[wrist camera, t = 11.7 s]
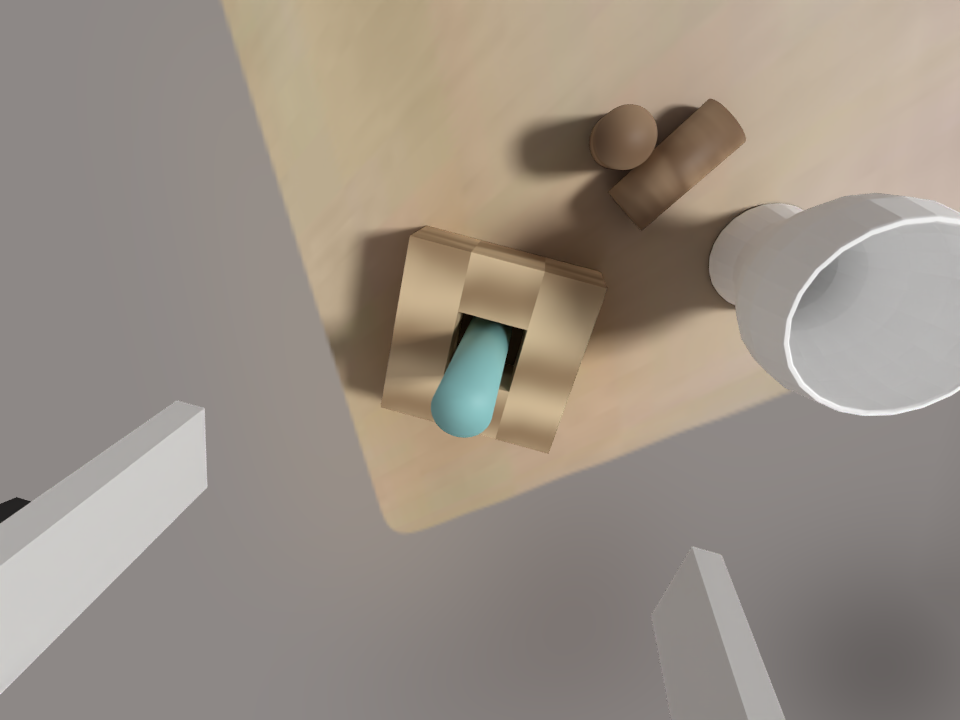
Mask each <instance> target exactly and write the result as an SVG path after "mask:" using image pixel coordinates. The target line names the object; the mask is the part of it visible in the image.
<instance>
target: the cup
mask: <svg viewBox="0 0 960 720" xmlns="http://www.w3.org/2000/svg"><path fill="white" fill-rule="evenodd" d="M709 273H710V277H711V281H712V284H713V286H714V287H715V289H716V291H717V292H718V294H719V295H720V296H722V297H723V298H724V299H725V300H726V301H727V302H729V303H731V304H733V305H735V308H736V316H737V321H738V325H739V330H740V334H741V338H742V340H743V342H744V344H745V345H746V347H747V349H748V350H749V352H750V354H751V355H752V357H753V358H754V359H755V360H756V361H757V362H758V363H759V365H760V366H761V367H762V368H763V369H764V370H765V371H766V372H767V373H768V374H770V375H771V376H772V377H773V378H774V379H775V380H776V381H778V382H779V383H780V384H781V385H782V386H783V387H785V388H787V389H789V390H791V391H793V392H796V393H798V394H800V395H802V396H805V397H807V398H809V399H811V400H813V401H815V402H818V403H820V404H822V405H824V406H827V407H829V408H831V409H833V410H836V411H839V412H844V413H850V414H856V415H861V416H874V415H894V414H899V413H903V412H907V411H912V410H916V409H920V408H924V407H926V406H928V405H931V404H933V403H935V402H937V401H940V400H942V399H944V398H947V397H949V396H951V395H952V394H954V393H956V392H957V391H959V390H960V213H959V212H957V211H955V210H953V209H951V208H949V207H947V206H945V205H943V204H941V203H938V202H936V201H933V200H927V199H920V198H913V197H907V196H899V195H890V194H881V193H870V194H861V195H851V196H844V197H841V198H838V199H835V200H832V201H829V202H826V203H823V204H821V205H818V206H815V207H812V208H809V209H807V210H802V209H800V208H798V207H796V206H794V205H788V204H781V203H775V204H765V205H761V206H758V207H755V208H752V209H750V210H747V211H746V212H744V213H742V214H741V215H739V216H738V217H736V218H734V219H733V220H732V221H731V222H730V223H729V224H728V225H727V226H726V227H725V228H724V229H723V230H722V232H721V233H720V235H719V236H718V238H717V240H716V241H715V243H714V245H713V248H712V251H711V254H710V259H709Z"/></svg>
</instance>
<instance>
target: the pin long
mask: <svg viewBox="0 0 960 720" xmlns="http://www.w3.org/2000/svg"><path fill="white" fill-rule="evenodd" d="M511 335H512V326H510V325H506V324H502V323H499V322H495V321H491V320H488V319H484V318H480V317H476V316H474V317H473V318H472V320H471V322H470V324H469V326H468V328H467V330H466V332H465V334H464V336H463V338H462V340H461V342H460V344H459V346H458V348H457V350H456V352H455V354H454V356H453V358H452V360H451V362H450V364H449V366H448V368H447V370H446V372H445V374H444V376H443V378H442V380H441V382H440V384H439V386H438V388H437V390H436V392H435V394H434V396H433V398H432V401H431V413H432V417H433V419H434V421H435V422H436V424H437V425H438V426H439V427H440V428H441V429H442V430H443V431H445V432H446V433H448V434H450V435H453V436H456V437H472V436H476V435H478V434H480V433H482V432H483V431H484V430H485V429H486V428H487V427H488V426H489V424H490V422H491V419H492V416H493V411H494V407H495V403H496V399H497V394H498V390H499V386H500V382H501V377H502V373H503V369H504V365H505V360H506V356H507V352H508V348H509V343H510V339H511Z"/></svg>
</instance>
